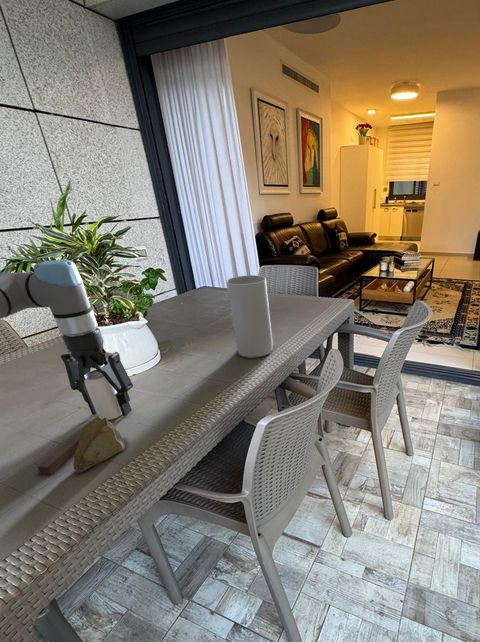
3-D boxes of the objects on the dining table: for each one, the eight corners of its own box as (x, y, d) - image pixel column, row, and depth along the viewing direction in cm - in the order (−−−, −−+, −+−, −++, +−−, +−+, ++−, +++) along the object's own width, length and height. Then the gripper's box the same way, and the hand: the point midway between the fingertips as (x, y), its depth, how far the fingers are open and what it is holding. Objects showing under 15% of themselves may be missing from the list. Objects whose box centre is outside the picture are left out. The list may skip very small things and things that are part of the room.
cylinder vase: (230, 355, 122) (217, 282, 110) (251, 342, 132) (242, 274, 120) (260, 361, 117) (250, 286, 105) (279, 346, 127) (273, 276, 115)
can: (110, 406, 96) (95, 366, 90) (131, 408, 95) (117, 368, 89) (93, 419, 90) (75, 379, 84) (114, 422, 89) (98, 380, 83)
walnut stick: (51, 474, 73) (47, 467, 72) (40, 473, 73) (36, 466, 73) (102, 427, 87) (99, 421, 86) (92, 427, 87) (90, 420, 86)
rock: (66, 476, 69) (120, 454, 72) (50, 436, 69) (104, 416, 73) (86, 472, 79) (132, 452, 83) (72, 437, 80) (118, 419, 83)
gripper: (131, 325, 83) (156, 405, 94) (52, 324, 86) (86, 403, 97) (111, 337, 77) (140, 422, 88) (26, 336, 79) (65, 419, 90)
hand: (112, 412), depth 92 cm, fingers open, 8 cm apart
